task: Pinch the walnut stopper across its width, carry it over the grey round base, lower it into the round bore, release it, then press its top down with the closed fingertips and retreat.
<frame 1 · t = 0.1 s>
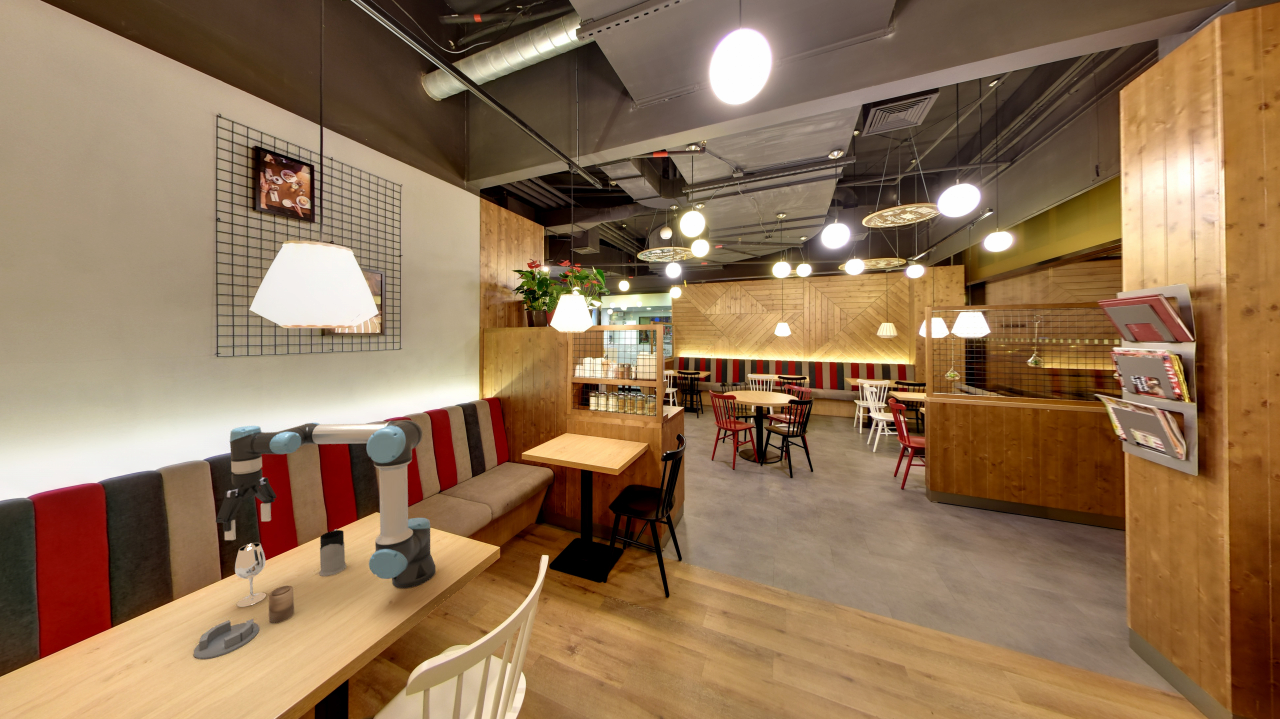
hand: (249, 529, 135), 28 cm above the table, fingers open, 13 cm apart
wineglass: (251, 600, 140), on the table
glass holder: (334, 566, 161), on the table
stopper: (281, 616, 131), on the table
grey round base: (227, 640, 121), on the table
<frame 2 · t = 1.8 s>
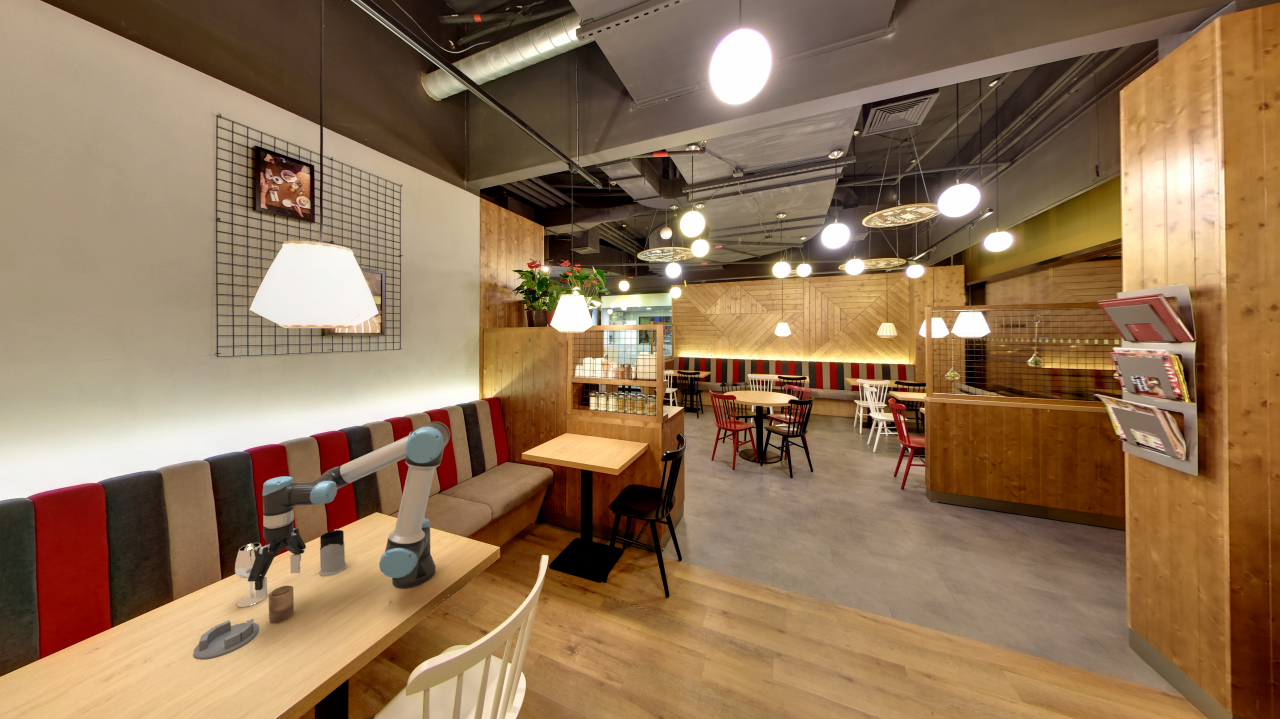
hand: (279, 584, 131), 11 cm above the table, fingers open, 13 cm apart
nothing on the table moved.
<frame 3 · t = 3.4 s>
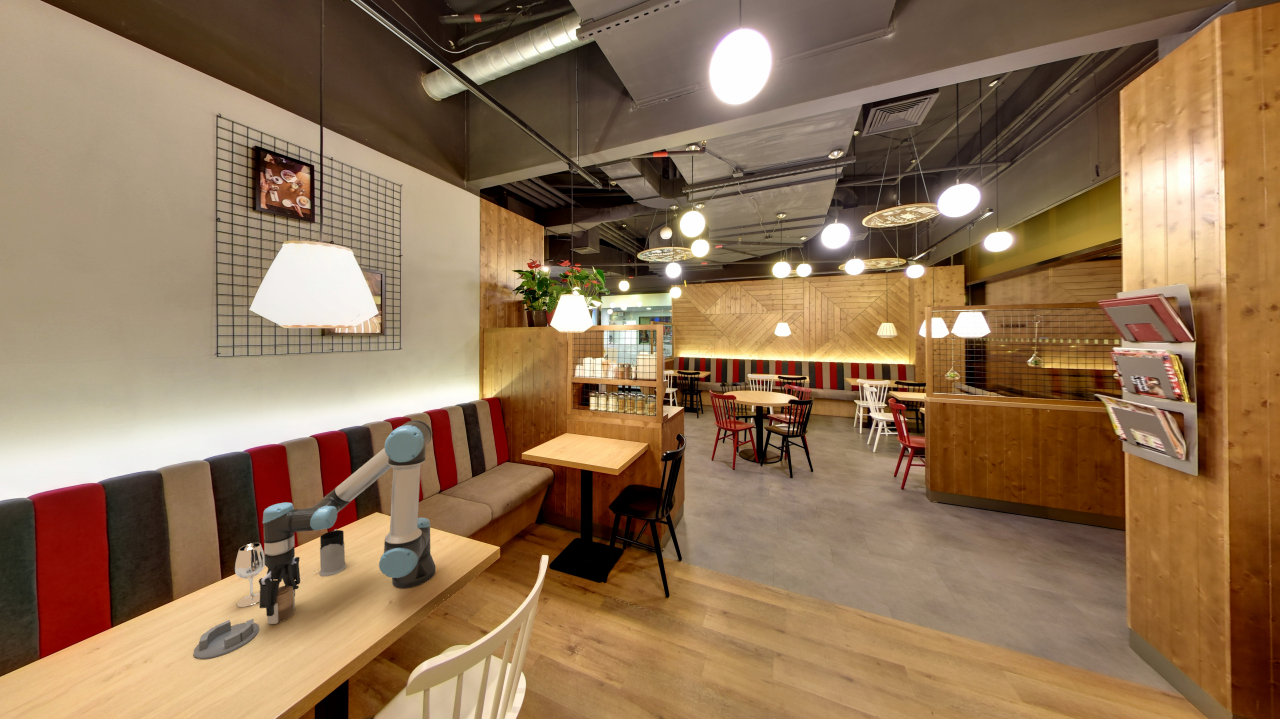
hand: (281, 615, 131), 0 cm above the table, fingers closed on stopper, 6 cm apart
stopper: (281, 616, 131), on the table, touching gripper
everything else where it was.
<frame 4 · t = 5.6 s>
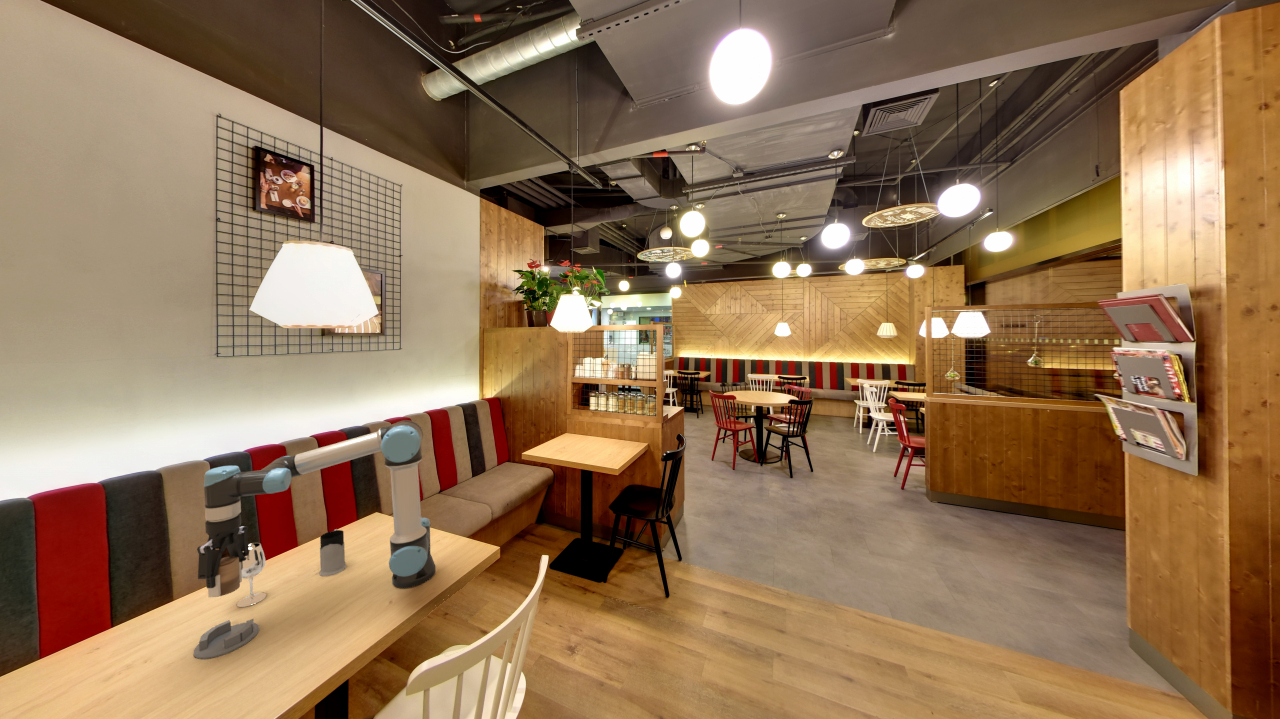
hand: (225, 589, 120), 17 cm above the table, fingers closed on stopper, 6 cm apart
stopper: (225, 590, 120), point 16 cm above the table, touching gripper
everything else where it was.
when the fingers open (3 cm above the table, at t = 7.8 s): stopper drops 2 cm, resting on grey round base.
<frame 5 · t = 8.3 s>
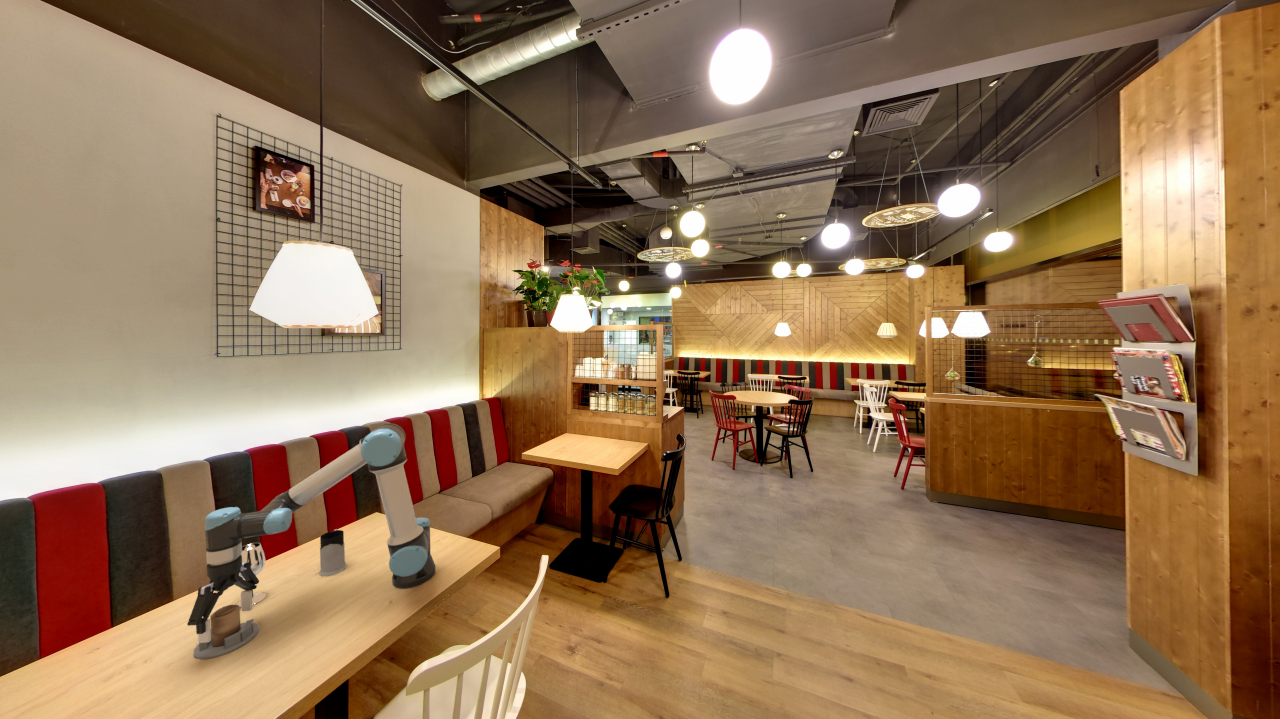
hand: (227, 625, 120), 5 cm above the table, fingers open, 13 cm apart
stopper: (226, 639, 120), point 1 cm above the table, touching grey round base
everything else where it was.
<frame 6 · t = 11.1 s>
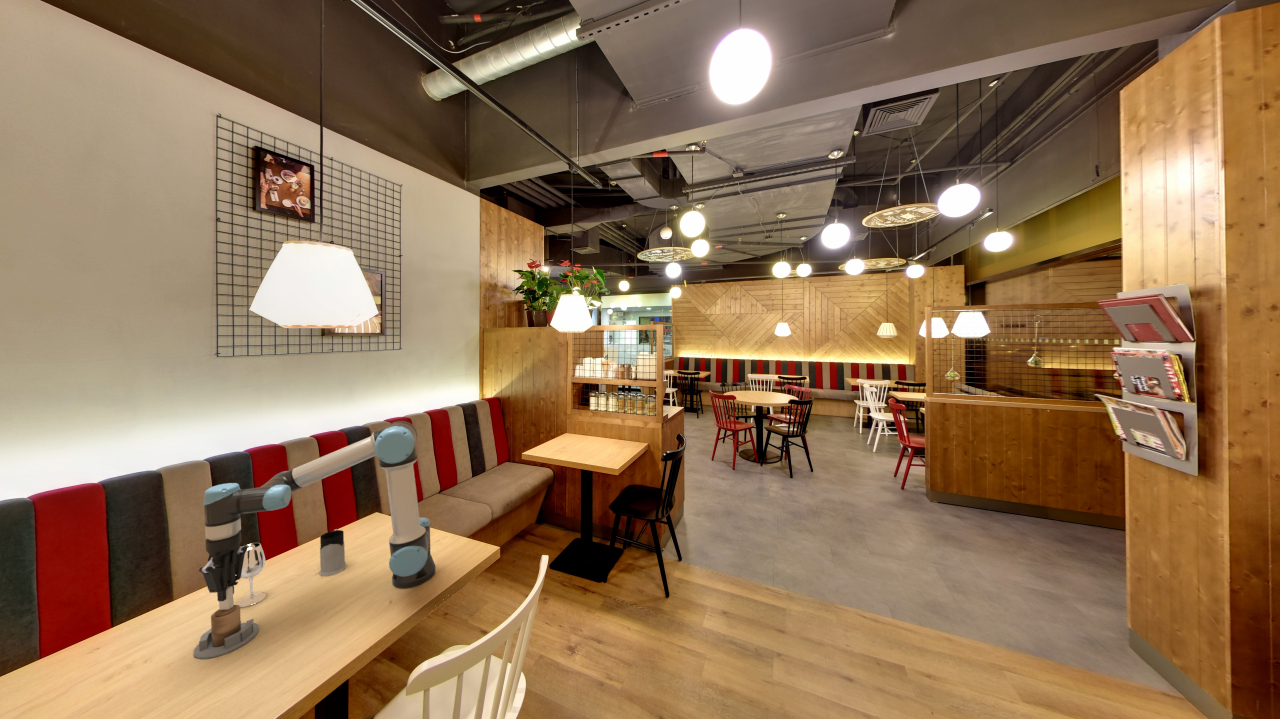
hand: (226, 608, 120), 11 cm above the table, fingers closed
nothing on the table moved.
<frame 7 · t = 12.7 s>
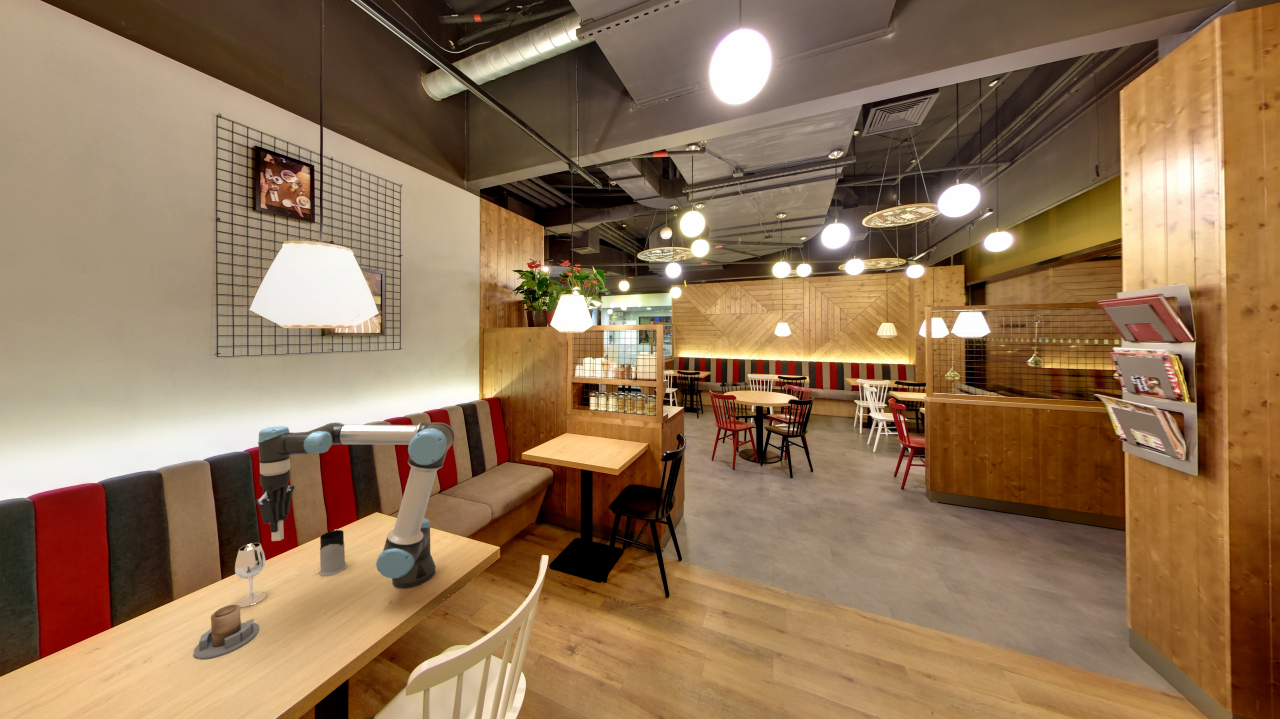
hand: (277, 539, 132), 26 cm above the table, fingers closed
nothing on the table moved.
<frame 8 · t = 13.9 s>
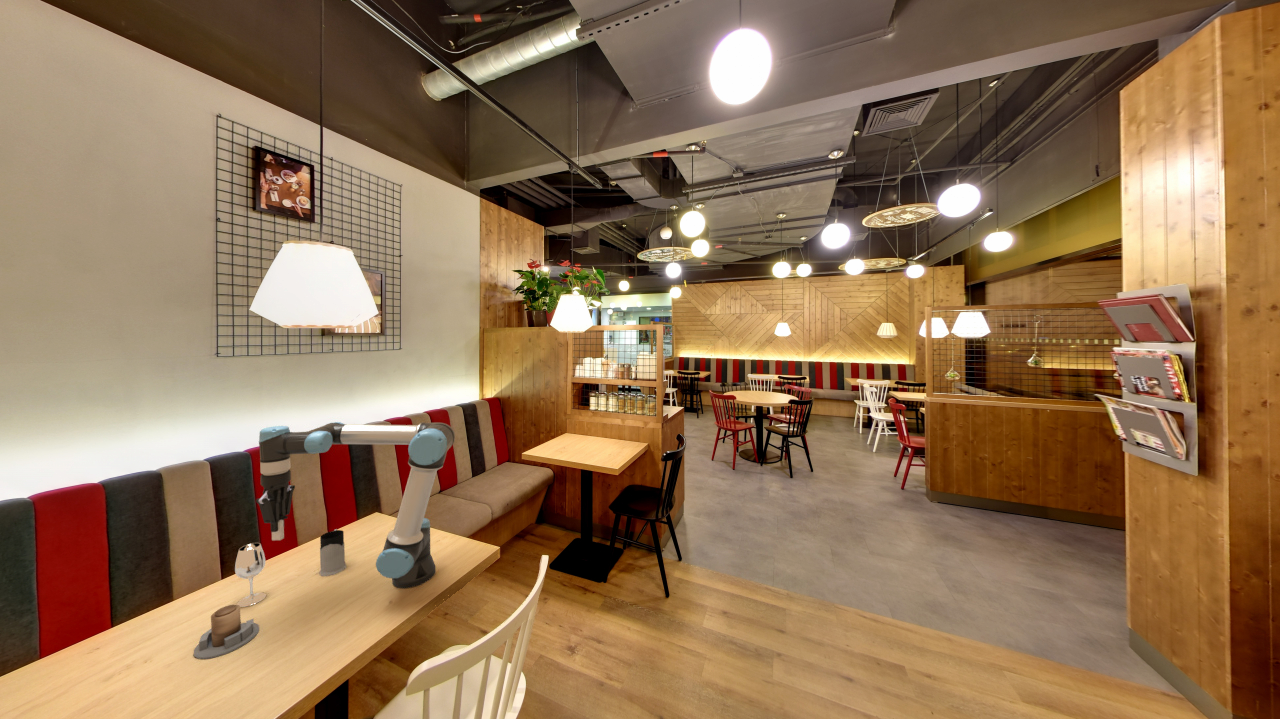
hand: (278, 539, 132), 26 cm above the table, fingers closed
nothing on the table moved.
at the end: stopper 0.3 cm off-centre on the grey round base, point 0.8 cm above the grey round base's base; stopper tilted 0°; the gripper is holding nothing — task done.
